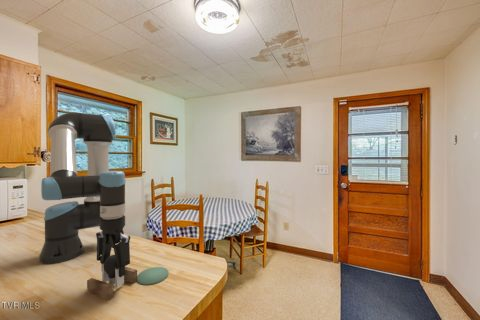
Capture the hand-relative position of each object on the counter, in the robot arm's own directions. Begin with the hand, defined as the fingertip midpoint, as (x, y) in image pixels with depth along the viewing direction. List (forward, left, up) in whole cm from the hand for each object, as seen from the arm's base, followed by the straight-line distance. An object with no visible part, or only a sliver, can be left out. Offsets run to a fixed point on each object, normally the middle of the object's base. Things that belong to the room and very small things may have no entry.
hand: (113, 283), depth 74 cm
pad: (+8, +10, -1) cm, 13 cm away
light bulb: (0, 0, -1) cm, 1 cm away
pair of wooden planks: (0, 0, -1) cm, 1 cm away
